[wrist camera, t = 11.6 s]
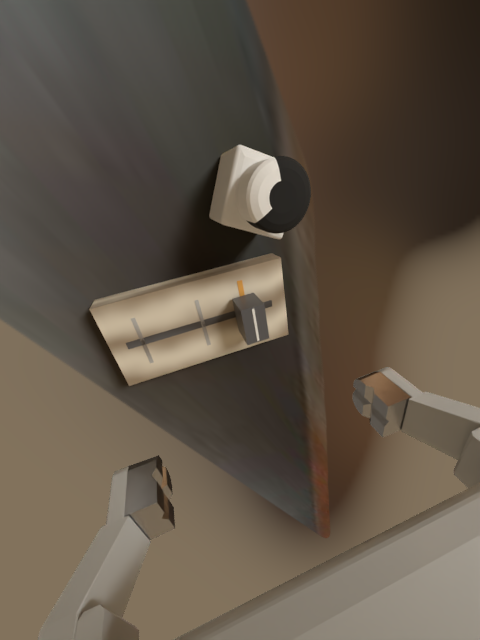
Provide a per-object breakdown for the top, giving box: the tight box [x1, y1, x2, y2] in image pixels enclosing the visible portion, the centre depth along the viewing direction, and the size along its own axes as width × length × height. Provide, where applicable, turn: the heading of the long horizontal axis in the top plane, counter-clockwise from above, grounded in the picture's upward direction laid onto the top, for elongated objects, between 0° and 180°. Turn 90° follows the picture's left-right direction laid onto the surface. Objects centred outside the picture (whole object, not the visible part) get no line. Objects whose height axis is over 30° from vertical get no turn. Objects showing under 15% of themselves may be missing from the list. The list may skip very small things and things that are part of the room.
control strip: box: [89, 253, 288, 386], centre depth 36 cm, size 12×24×3 cm, turn 101°
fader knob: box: [232, 293, 269, 345], centre depth 34 cm, size 5×3×4 cm, turn 11°
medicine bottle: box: [209, 145, 311, 239], centre depth 27 cm, size 7×7×12 cm
